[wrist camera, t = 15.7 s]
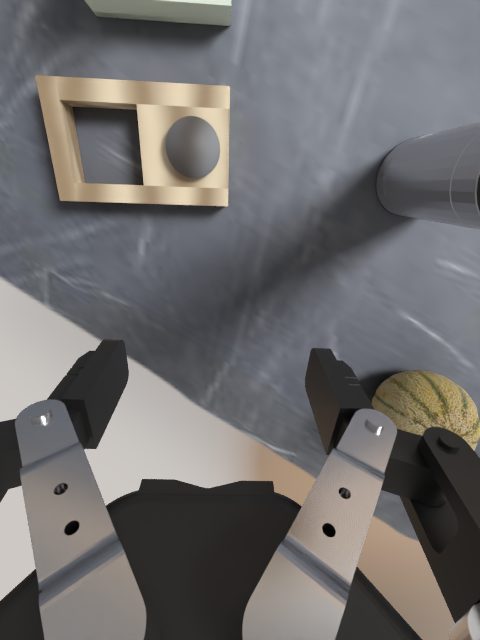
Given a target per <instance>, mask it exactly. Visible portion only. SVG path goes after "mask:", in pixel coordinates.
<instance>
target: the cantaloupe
mask: <svg viewBox="0 0 480 640" xmlns="http://www.w3.org/2000/svg"><path fill="white" fill-rule="evenodd" d="M371 404H372V406H373V407H374V409H375V410H376V411H379V412H381V413H383V414H385V415H386V416H387V417H389V418H390V419H391V420H392V421H393V422H394V424H395V426H396V428H397V429H400V430H403V431H406V432H410V433H414V434H417V435H421V436H422V435H423V433H424V431H425V430H426V429H427V428H429V427H441V428H445V429H447V430H450V431H452V432H454V433H456V434H457V435H459V436H460V437H462V438H463V439H464V440H465V441H466V442H467V443H468V444H469V445H470V446H471V448H472V449H473V450H475V448H476V445H477V442H478V440H479V436H480V422H479V418H478V412H477V408H476V406H475V404H474V402H473V401H472V399H471V398H470V396H469V395H468V393H467V392H466V391H465V390H464V389H463V388H461V387H460V386H458V385H457V384H456V383H454V382H452V381H450V380H449V379H448V378H446V377H444V376H442V375H440V374H437V373H434V372H431V371H424V370H415V371H404V372H401V373H396V374H394V375H392V376H391V377H389V378H388V379H386V380H385V381H384V382H382V383H381V385H380V386H379V387H378V389H377V390H376V394H375V395H374V397H373V398H372V403H371Z"/></svg>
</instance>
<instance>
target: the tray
mask: <svg viewBox="0 0 480 640" xmlns="http://www.w3.org/2000/svg"><path fill="white" fill-rule="evenodd" d="M85 2H86V3H87V4H88V6H89V7H90V8H91V10H92V11H93V12H94V14H95V15H96V16H97V17H109V18H123V19H137V20H152V21H166V22H180V23H195V24H209V25H223V26H230V25H231V0H85Z"/></svg>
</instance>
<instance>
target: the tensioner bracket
mask: <svg viewBox="0 0 480 640" xmlns="http://www.w3.org/2000/svg"><path fill="white" fill-rule="evenodd" d="M35 77H36V82H37V87H38V92H39V97H40V102H41V107H42V112H43V117H44V122H45V127H46V132H47V137H48V142H49V148H50V153H51V158H52V163H53V168H54V173H55V178H56V183H57V188H58V193H59V198H60V201H83V202H113V203H143V204H173V205H203V206H228V169H229V109H230V86H215V85H197V84H180V83H163V82H145V81H128V80H111V79H93V78H76V77H58V76H41V75H35ZM73 107H90V108H110V109H129V110H137V116H138V127H139V138H140V149H141V160H142V172H143V183H144V185H124V184H97V183H85V180H84V174H83V168H82V162H81V156H80V150H79V144H78V138H77V131H76V125H75V119H74V113H73Z"/></svg>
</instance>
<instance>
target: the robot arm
mask: <svg viewBox="0 0 480 640" xmlns="http://www.w3.org/2000/svg"><path fill="white" fill-rule="evenodd" d="M376 187H377V195H378V198H379V200H380V202H381V204H382V206H383V207H384V208H385V209H386V210H388V211H389V212H391V213H393V214H397V215H401V216H407V217H412V218H417V219H423V220H429V221H435V222H440V223H446V224H452V225H458V226H464V227H469V228H475V229H480V122H479V123H475V124H471V125H467V126H463V127H459V128H454V129H450V130H446V131H442V132H438V133H433V134H429V135H425V136H421V137H417V138H413V139H409V140H407V141H405V142H402V143H401V144H399V145H398V146H396V147H395V148H394V149H393V150H392V151H391V152H390V153H389V154H388V155H387V157H386V158H385V160H384V161H383V163H382V165H381V167H380V169H379V173H378V176H377V183H376ZM128 374H129V371H128V363H127V356H126V349H125V344H124V341H123V340H103V341H102V342H101V343H100V345H99V346H98V348H97V349H96V351H89V352H87V353H86V354H84V355H83V356H81V357H80V358H78V360H77V361H76V363H75V364H74V365H73V366H72V368H71V369H70V370H69V372H68V373H67V376H65V377H64V378H63V379H62V381H61V382H60V383H59V384H58V386H57V387H56V388H55V390H54V391H53V392H52V394H51V395H50V396H49V398H48V399H47V400H44V401H40V402H37V403H34V404H32V405H30V406H28V407H27V408H25V409H24V410H23V411H22V412H21V413H20V414H19V415H18V416H17V418H16V419H13V420H8V421H3V422H0V502H1V500H2V499H3V497H4V495H5V494H6V492H7V490H8V489H10V488H14V487H18V486H22V489H23V495H24V501H25V507H26V513H27V519H28V525H29V530H30V537H31V542H32V548H33V554H34V560H35V566H36V569H35V570H34V571H33V572H32V573H31V574H30V575H28V576H27V577H26V578H25V579H24V580H23V581H22V582H21V583H20V584H18V585H17V586H16V587H15V588H14V589H13V590H12V591H11V592H10V593H9V594H8V595H6V596H5V597H4V598H3V599H2V600H1V601H0V640H422V639H421V638H420V637H419V636H418V635H417V633H416V632H415V631H414V630H413V629H412V628H411V627H410V626H409V624H407V622H406V621H405V620H404V619H403V618H402V617H401V616H400V614H399V613H398V612H397V611H396V610H395V609H394V608H393V607H392V606H391V604H390V603H389V602H388V601H387V600H386V599H385V598H384V596H383V595H382V594H381V593H380V592H379V591H378V590H377V589H376V587H375V586H374V585H373V584H372V583H371V582H370V581H369V580H368V579H367V578H366V576H365V575H364V574H363V573H362V572H361V571H360V570H359V568H358V567H357V563H358V560H359V557H360V554H361V551H362V547H363V544H364V541H365V538H366V535H367V532H368V529H369V525H370V522H371V519H372V516H373V513H374V510H375V507H376V503H377V500H378V497H379V494H380V491H381V490H383V491H387V492H390V493H393V494H396V495H399V496H400V498H401V500H402V502H403V505H404V507H405V509H406V512H407V514H408V516H409V519H410V521H411V523H412V525H413V528H414V530H415V532H416V535H417V537H418V539H419V542H420V544H421V546H422V548H423V551H424V553H425V555H426V557H427V560H428V562H429V564H430V567H431V569H432V571H433V573H434V576H435V578H436V580H437V583H438V585H439V587H440V590H441V592H442V594H443V597H444V599H445V601H446V603H447V606H448V608H449V610H450V612H451V615H452V617H453V619H454V622H455V624H454V626H453V627H452V628H451V631H450V635H449V640H480V458H479V457H478V456H477V454H476V453H475V452H474V450H473V449H472V448H471V446H470V445H469V444H468V443H467V442H466V441H465V440H464V439H463V438H462V437H460V436H459V435H457V434H456V433H454V432H452V431H450V430H447V429H445V428H441V427H429V428H427V429H426V430H425V431H424V433H423V435H422V436H421V435H417V434H414V433H410V432H406V431H403V430H400V429H397V428H396V426H395V424H394V422H393V421H392V420H391V419H390V418H389V417H387V416H386V415H385V414H383V413H381V412H379V411H376V410H375V409H374V407H373V406H372V404H371V402H370V400H369V399H368V397H367V395H366V393H365V392H364V390H363V388H362V386H360V383H359V381H358V379H356V376H355V374H354V372H353V370H352V369H351V368H350V367H349V366H348V365H347V364H346V363H344V362H343V361H337V360H336V358H335V356H334V354H333V352H332V350H331V349H323V348H312V350H311V353H310V357H309V362H308V367H307V372H306V377H305V387H306V392H307V395H308V398H309V401H310V405H311V408H312V411H313V414H314V417H315V420H316V424H317V427H318V430H319V433H320V436H321V439H322V443H323V446H324V449H325V452H326V455H329V457H328V459H327V461H326V463H325V465H324V467H323V468H322V470H321V472H320V474H319V476H318V478H317V480H316V481H315V483H314V485H313V487H312V489H311V491H310V493H309V494H308V496H307V498H306V500H305V502H304V504H303V506H300V505H299V504H298V503H296V502H295V501H293V500H291V499H290V498H288V497H286V496H284V495H281V494H279V493H275V492H274V486H273V481H238V482H234V483H230V484H226V485H222V486H217V487H213V488H203V487H199V486H195V485H192V484H188V483H185V482H181V481H178V480H163V479H158V480H157V479H142V482H141V485H140V488H139V490H138V491H134V492H131V493H129V494H126V495H124V496H122V497H120V498H118V499H116V500H114V501H113V502H111V503H109V504H108V505H107V506H105V504H104V501H103V498H102V496H101V493H100V490H99V488H98V485H97V483H96V480H95V477H94V475H93V472H92V470H91V467H90V465H89V462H88V460H87V457H86V454H85V452H84V449H96V448H97V446H98V444H99V442H100V440H101V438H102V436H103V434H104V431H105V429H106V427H107V425H108V423H109V421H110V419H111V416H112V414H113V412H114V410H115V408H116V406H117V404H118V401H119V399H120V397H121V395H122V393H123V391H124V389H125V387H126V384H127V381H128Z"/></svg>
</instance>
